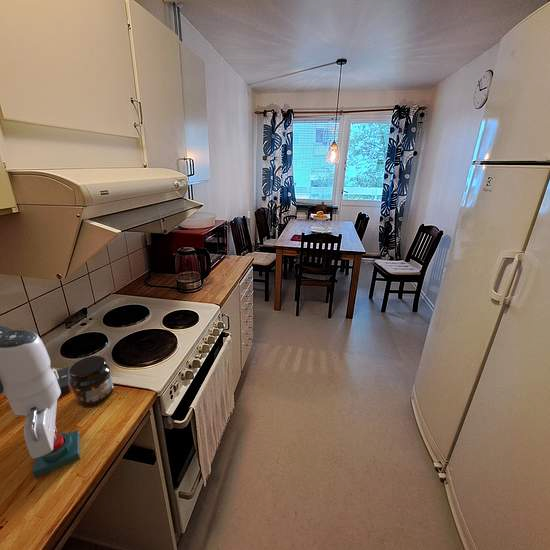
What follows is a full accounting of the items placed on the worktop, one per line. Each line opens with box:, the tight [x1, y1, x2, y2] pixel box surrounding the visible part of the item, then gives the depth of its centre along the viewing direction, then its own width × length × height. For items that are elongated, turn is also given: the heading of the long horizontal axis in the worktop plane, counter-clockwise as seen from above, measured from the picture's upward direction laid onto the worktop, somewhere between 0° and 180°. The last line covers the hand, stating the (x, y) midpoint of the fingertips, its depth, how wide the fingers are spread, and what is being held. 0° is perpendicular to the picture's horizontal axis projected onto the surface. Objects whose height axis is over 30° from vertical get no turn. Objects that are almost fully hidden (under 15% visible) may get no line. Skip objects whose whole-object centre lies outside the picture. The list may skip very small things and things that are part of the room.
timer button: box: [52, 433, 64, 452], centre depth 71 cm, size 4×4×2 cm
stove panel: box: [56, 366, 72, 396], centre depth 93 cm, size 10×10×3 cm
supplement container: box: [69, 355, 115, 408], centre depth 89 cm, size 10×10×12 cm
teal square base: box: [32, 429, 81, 479], centre depth 72 cm, size 9×8×4 cm
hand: (52, 437), depth 70 cm, fingers closed
